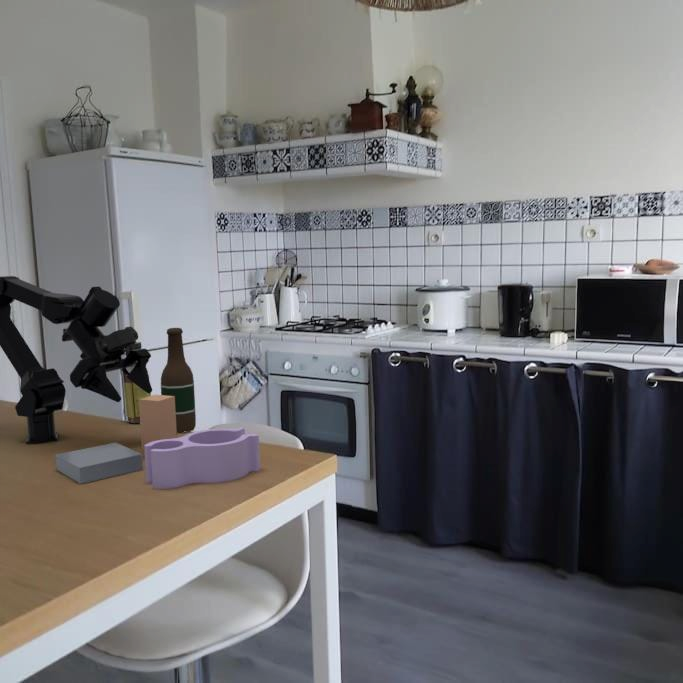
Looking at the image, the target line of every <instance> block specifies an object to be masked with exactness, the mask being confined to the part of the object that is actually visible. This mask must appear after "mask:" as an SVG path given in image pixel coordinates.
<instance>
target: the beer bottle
mask: <svg viewBox="0 0 683 683" xmlns="http://www.w3.org/2000/svg"><path fill="white" fill-rule="evenodd" d="M182 334H183V329H182V327H181V328H180V327H170V328H168V329H166V335H167V360H166V361H167V362H166V365H165V366H164V368H163V370H162V372H161V377H160V393H161V395H166V396H175V411H176V430H177V434H179V433H178V432H184V431H189V432H191V431H192V432H194V430H195V428H196V426H197V425H196V424H197V423H196V420H197V419H196V418H197V417H196V415H197V414H196V396H195V380H194V375H193V374H194V373H193V371H192V369H191V367H190V366H189V365H188V363H187V362H186V358H185V352H184V344H183V335H182ZM184 433H186V432H184ZM184 433H183V434H184Z"/></svg>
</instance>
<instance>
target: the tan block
mask: <svg viewBox="0 0 683 683" xmlns="http://www.w3.org/2000/svg"><path fill="white" fill-rule="evenodd" d="M139 410H140V423H139V425H140V440H141V454H142V458H145V447H144V445H146V444H148V443H150V442H153V441H157V440H164V439H174V438H178V435H177V434H178V433H177V430H176V411H175V396H166V395H160V394H153V395H152V394H151V396H149V397H145V398H142V399H139Z"/></svg>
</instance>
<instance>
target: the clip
mask: <svg viewBox="0 0 683 683" xmlns="http://www.w3.org/2000/svg"><path fill="white" fill-rule="evenodd" d="M259 437H260V436H259V434H258V433H246V429H245V427H243V426H242V427H241V426H239V427H236V428H211V429H209V428H208V429H201V430H198V431H192V432H190V433H189V432H188V433H187V434H185V435H183V436H180V437H177V438H174V439H164V440H157V441H153V442H150V443H148V444H146V445H144V447H145V457H144V459H145V463H144V464H145V477H146V483H147V484H151V483H152V489H157V490H158V489H159V490H166V489H167V490H168V489H176V488H181V487H184V486H186V485H190V484H192V485H193V484H198V483H200V484H202V483H203V484H213V483H214V484H215V483H225V482H231V481H235V480H238V479H240V478H243V477H245V476H246V475H248V474H249V473H250V472H258V471H259V472H260V470H261V464H260V463H261V460H260V438H259Z"/></svg>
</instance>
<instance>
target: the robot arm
mask: <svg viewBox="0 0 683 683" xmlns="http://www.w3.org/2000/svg"><path fill="white" fill-rule="evenodd" d="M15 301H18V302H20V303H22V304H25V305H27V306H28V307H32V308H34V309H37V310H38V311H40V314H41V315H42V317H43V318H45V319H46V320H48V321H49V322H50V323H52V324H54V325H60V324H61V325H62V324H69V325H68V326H67V327H66V328H63V329H62V331H63V332H62V336H61V341H62V342H64V343H65V342H71V341H73V343H74V344H75V345H76V346H77V348H78V349H79V350H80V351H81V354H80V355H79V357H80V358H81V359H80V360H79V361H78V362H77V363H76V365H75V367H73V369H72V371H71V373H70V374H69V381H70V383H71V384H72V385H73V386H74V388H80V387H81V389H82V390H88V391H91V392H93V393H95V394H98V395H101V396H103V397H105V398H107V399H110V400H112V401H114V402H116V403H120V402H121V401H122V397H121V396H120V393H119V392H118V391H117V389H116V388H115V386H114V385H113V383H112V382H111V381H110V380H109V378H108V376H107V373H109V372H115V371H118V370H120V371H121V372H122V374H123V373H124V374H127V375H128V376H127V378H128V379H129V380H131V381H132V382H133V383H135V384H136V385H137V386H139V387H140V388H141V389H142V390H144V391H145V392H147V393H149V394H150V393H151V394H152V391H153V388H152V385H151V384H152V383H151V382H150V377H149V378H148V375H149V374H148V375H147V371H148V370H147V371H146V368H147V364H148V362H149V361H150V358H151V357H152V354H151V353H150V351H148V350H147V348H141V349H136V350H131V351H130V352H129V354H128V355H127V356H126V355H125V357H124V358H122V356H124V354H126V350H125V349H124V348H126V347H128V346H129V345H131V344H135V343H136V342H137V340H138V339H139V335H138V331H136V329H134V328H133V326H125V327H124V328H123V329H118V330H115V331H113V332H111V333H109V334H107V335H105V334H104V333H103V332H102V330H101V329H100V327H101V328H102V327H105V326H107V325H108V323H109V322H110V320H112V317H113V316H114V314H115V313H116V312H117V310H118V309H119V307H120V305H121V303H120V299H119V298H118V296H116V295H114V294H113V293H111V292H110V291H108V290H104V289H102V288H101V286H99V285H98V286H92V287H91V288H90V290H89V291H88V294H87V295H86V297H85V298H84V299H83V298H82V297H81V296H79V295H75V294H67V293H57V292H52V291H49V290H46V289H45V288H42V287H40V286H37V285H35V284H32V283H30V282H27V281H25V280H23V279H21V278H20V277H17V276H15V275H10V276H9V275H8V276H7V275H5V276H0V348H1V349H2V351H3V352H4V354H5V356H6V357H7V359H8V360H9V362H10V364H11V365H12V367H13V369H14V370H15V371H16V373H17V375H18V376H19V378H20V386H19V387H20V389H19V391H20V394H21V398H20V399H19V401H18V402H17V403H16V404H15V407H14V409H15V411H16V415H17V416H18V417H23V418H24V417H25V418H26V421H27V422H26V424H27V434H28V435H26V439H25V443H26V444H29V445H30V444H35V443H36V444H38V443H44V442H55V441H58V439H59V432H58V431H57V432H56V421H55V420H56V419H55V412H56V411H61V410H63V408H64V402H65V399H66V398H65V397H66V391H67V390H66V387H65V385H64V383H65V381H64V380H63V379H62V378H61V377H60V375H59V374H58V371H57V370H56V368H47V369H46V368H44V367H43V366H42V365H41V364H40V362H39V360H38V359H37V357H36V356H35V354H34V353H33V351H32V349H31V348H30V347H29V345H28V344H27V342H26V341H25V339H24V337H23V336H22V334H21V332H20V331H19V329H18V328H17V326H16V325H15V323H14V321H13V320H12V318H11V314H12V313H11V312H12V305H11V304H13V302H15Z"/></svg>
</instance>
